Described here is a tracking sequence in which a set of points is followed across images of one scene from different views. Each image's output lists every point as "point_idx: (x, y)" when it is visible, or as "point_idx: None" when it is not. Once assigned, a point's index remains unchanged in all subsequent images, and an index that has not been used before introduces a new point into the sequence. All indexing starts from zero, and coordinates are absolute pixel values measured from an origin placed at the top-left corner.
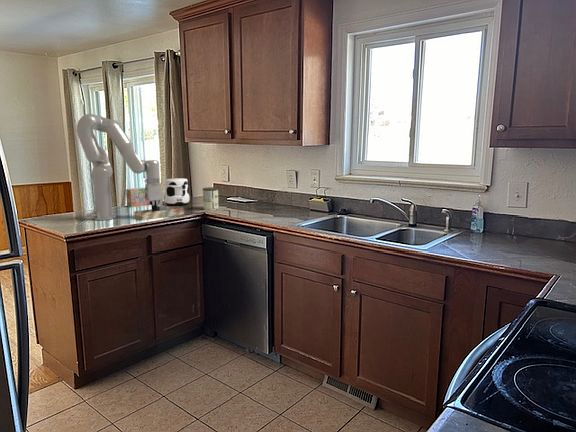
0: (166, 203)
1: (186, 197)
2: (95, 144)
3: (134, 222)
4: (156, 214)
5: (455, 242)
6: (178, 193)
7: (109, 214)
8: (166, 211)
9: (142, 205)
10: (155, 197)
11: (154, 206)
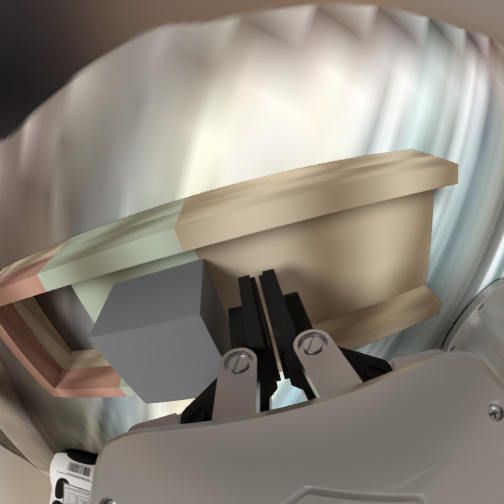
0: None
1: (54, 469)
2: None
3: (468, 108)
4: (271, 188)
5: None
6: (78, 494)
7: (498, 311)
8: (117, 240)
9: None
10: (337, 466)
11: (291, 320)
